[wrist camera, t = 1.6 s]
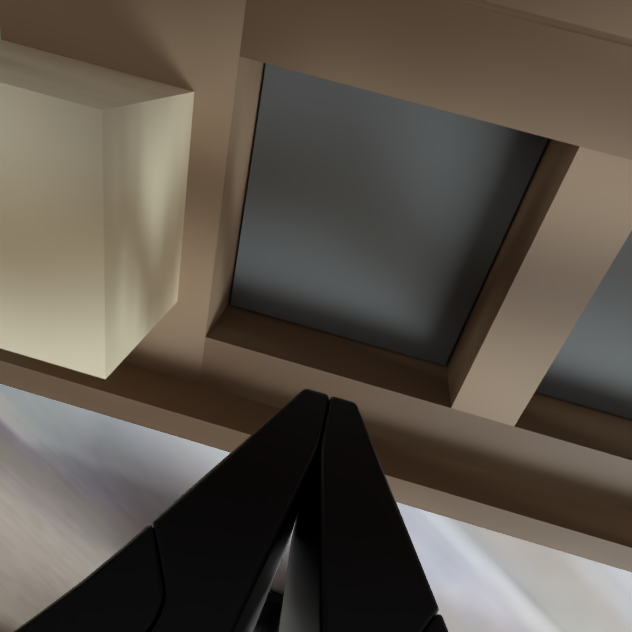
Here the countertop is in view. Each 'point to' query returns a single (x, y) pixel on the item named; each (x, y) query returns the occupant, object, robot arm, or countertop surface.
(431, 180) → the box
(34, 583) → the countertop surface
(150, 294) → the maple block
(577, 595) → the countertop surface
